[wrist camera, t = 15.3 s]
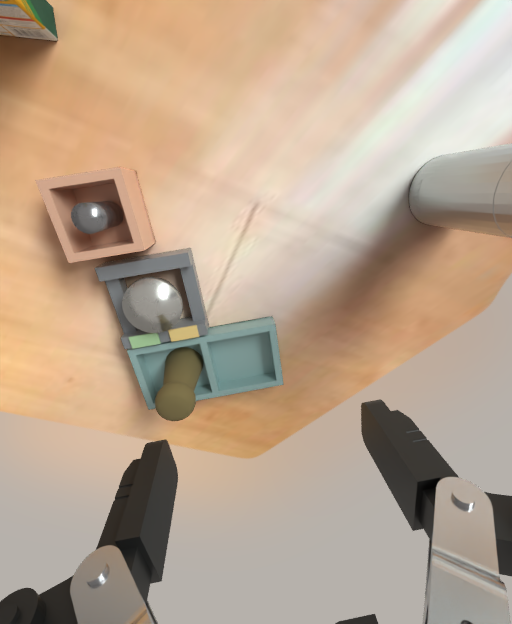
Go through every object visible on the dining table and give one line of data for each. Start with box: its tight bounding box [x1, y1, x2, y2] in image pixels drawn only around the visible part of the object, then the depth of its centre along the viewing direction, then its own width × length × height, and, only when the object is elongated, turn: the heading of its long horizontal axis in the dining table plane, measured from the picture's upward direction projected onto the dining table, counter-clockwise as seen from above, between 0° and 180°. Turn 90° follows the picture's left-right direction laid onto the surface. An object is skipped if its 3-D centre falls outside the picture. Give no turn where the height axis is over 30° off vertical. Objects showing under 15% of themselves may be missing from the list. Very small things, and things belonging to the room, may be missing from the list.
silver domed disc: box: [122, 277, 183, 333], centre depth 40 cm, size 8×8×4 cm
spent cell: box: [71, 201, 123, 234], centre depth 35 cm, size 3×3×7 cm
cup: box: [35, 167, 156, 263], centre depth 36 cm, size 9×9×6 cm
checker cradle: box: [95, 248, 209, 349], centre depth 42 cm, size 12×12×4 cm
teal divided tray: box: [127, 316, 284, 410], centre depth 47 cm, size 22×11×3 cm, turn 99°
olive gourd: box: [155, 347, 203, 421], centre depth 42 cm, size 6×6×11 cm
